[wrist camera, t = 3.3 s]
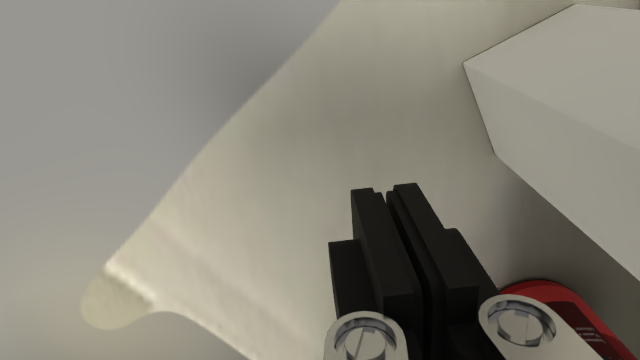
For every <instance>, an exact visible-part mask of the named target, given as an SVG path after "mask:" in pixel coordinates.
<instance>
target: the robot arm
mask: <svg viewBox="0 0 640 360" xmlns="http://www.w3.org/2000/svg"><path fill="white" fill-rule="evenodd" d="M351 208H352V224H353V240H345V241H336V242H328V247H329V258H330V268H331V278H332V286H333V294H334V302H335V309H336V316H337V321H335V322H334V323H333V324H332V326H331V327H330V329H329V330H328V332H327V335H326V339H325V347H324V358H323V360H612V359H610V358H607V357H605V356H603V355H600V354H598V353H596V352H595V351H594V350H593V349H592V348H591V347H590V346H589V345H588V344H587V343H586V342H585V341H584V340H583V339H582V338H581V337H580V336H579V335H578V334H577V333H576V332H575V331H574V330H573V329H572V328H571V327H570V326H569V325H568V324H567V323H566V322H565V321H564V320H563V319H562V318H561V317H560V316H559V315H558V314H557V313H555V312H554V311H553V310H552V309H550V308H549V307H548V306H546V305H545V304H543V303H541V302H539V301H537V300H535V299H532V298H528V297H525V296H521V295H512V294H506V295H501V294H500V292H499V291H498V289H497V288H496V286H495V285H494V283H493V282H492V280H491V279H490V277H489V276H488V274H487V273H486V271H485V270H484V268H483V267H482V265H481V264H480V262H479V261H478V259H477V258H476V256H475V255H474V253H473V252H472V250H471V248H470V247H469V245H468V244H467V242H466V241H465V239H464V238H463V236H462V235H461V233H460V232H459V231H458V230H457V229H455V228H451V229H445V228H444V227H443V225H442V224H441V222H440V220H439V219H438V217H437V215H436V214H435V212H434V211H433V209H432V207H431V206H430V204H429V202H428V201H427V199H426V198H425V196H424V194H423V193H422V191H421V189H420V188H419V186H418V185H417V183H408V184H399V185H394V187H393V191H387V192H386V202H385V200H384V198H383V195H382V193H381V192H377V193H374V190H373V188H363V189H354V190H351Z"/></svg>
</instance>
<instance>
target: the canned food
mask: <svg viewBox="0 0 640 360" xmlns="http://www.w3.org/2000/svg"><path fill="white" fill-rule="evenodd" d="M500 294H501V295H506V294H512V295H521V296H525V297H528V298H532V299H535V300H537V301H539V302H541V303H543V304H545V305H546V306H548V307H549V308H550V309H552V310H553V311H554V312H555V313H557V314H558V315H559V316H560V317H561V318H562V319H563V320H564V321H565V322H566V323H567V324H568V325H569V326H570V327H571V328H572V329H573V330H574V331H575V332H576V333H577V334H578V335H579V336H580V337H581V338H582V339H583V340H584V341H585V342H586V343H587V344H588V345H589V346H590V347H591V348H592V349H593V350H594V351H595V352H596V353H598V354H600V355H603V356H605V357H607V358H610V359H612V360H637V359H636V358H635V356H634V355H633V354H632V353H631V352H630V351H629V350H628V349H627V348H626V347H625V346H624V344H623V343H622V342H621V341H620V340H619V339H618V338H617V337H616V336H615V335H614V334H613V332H612V331H611V330H610V329H609V328H608V327H607V326H606V325H605V324H604V323H603V321H602V320H601V319H600V318H599V317H598V316H597V315H596V314H595V313H594V312H593V311H592V309H591V308H590V307H589V306H588V305H587V304H586V303H585V302H584V301H583V300H582V299H581V297H580V296H579V295H577V294H576V293H574V292H573V291H571V290H569V289H568V288H566V287H564V286H563V285H560V284H558V283H555V282H551V281H546V280H533V281H526V282H522V283H519V284H515V285H513V286H510V287H508V288H506V289H504V290H502V291H501V292H500Z"/></svg>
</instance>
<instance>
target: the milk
mask: <svg viewBox="0 0 640 360" xmlns="http://www.w3.org/2000/svg"><path fill="white" fill-rule="evenodd" d="M463 65H464V68H465V71H466V74H467V77H468V79H469V82H470V85H471V88H472V91H473V93H474V96H475V99H476V102H477V104H478V107H479V110H480V113H481V116H482V118H483V121H484V124H485V127H486V130H487V132H488V135H489V138H490V141H491V144H492V146H493V149H494V152H495V155H496V156H497V157H498V158H499V159H500V160H501V161H502V162H504V163H505V164H506V165H507V166H508V167H509V168H511V169H512V170H513V171H514V172H515V173H516V174H517V175H519V176H520V177H521V178H522V179H523V180H524V181H525V182H527V183H528V184H529V185H530V186H531V187H532V188H533V189H535V190H536V191H537V192H538V193H539V194H540V195H541V196H543V197H544V198H545V199H546V200H547V201H548V202H550V203H551V204H552V205H553V206H554V207H555V208H556V209H558V210H559V211H560V212H561V213H562V214H563V215H564V216H566V217H567V218H568V219H569V220H570V221H571V222H572V223H574V224H575V225H576V226H577V227H578V228H579V229H581V230H582V231H583V232H584V233H585V234H586V235H587V236H589V237H590V238H591V239H592V240H593V241H594V242H595V243H597V244H598V245H599V246H600V247H601V248H602V249H603V250H605V251H606V252H607V253H608V254H609V255H610V256H612V257H613V258H614V259H615V260H616V261H617V262H618V263H620V264H621V265H622V266H623V267H624V268H625V269H626V270H628V271H629V272H630V273H631V274H632V275H633V276H634V277H636V278H637V279H638V280H639V281H640V10H634V9H624V8H614V7H604V6H594V5H584V4H574V5H572V6H570V7H568V8H567V9H565V10H563V11H561V12H559V13H557V14H555V15H553V16H551V17H549V18H547V19H545V20H544V21H542V22H540V23H538V24H536V25H534V26H532V27H530V28H528V29H526V30H524V31H522V32H521V33H519V34H517V35H515V36H513V37H511V38H509V39H507V40H505V41H503V42H501V43H500V44H498V45H496V46H494V47H492V48H490V49H488V50H486V51H484V52H482V53H480V54H478V55H477V56H475V57H473V58H471V59H469V60H467V61H465V62H464V63H463Z"/></svg>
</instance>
